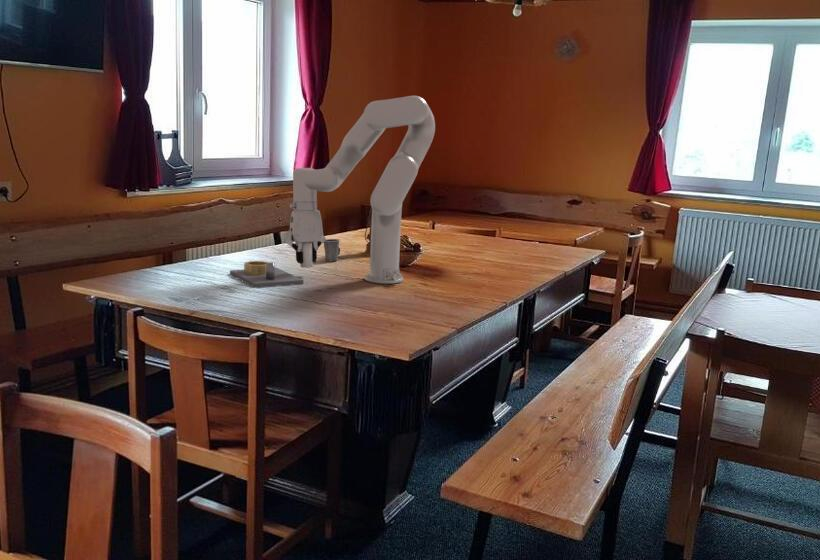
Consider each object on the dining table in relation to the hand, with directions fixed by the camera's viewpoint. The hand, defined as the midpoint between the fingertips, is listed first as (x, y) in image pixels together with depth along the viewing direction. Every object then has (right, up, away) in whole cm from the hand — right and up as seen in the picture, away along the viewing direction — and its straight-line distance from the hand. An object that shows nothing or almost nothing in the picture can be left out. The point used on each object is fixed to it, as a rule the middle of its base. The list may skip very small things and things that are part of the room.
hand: (306, 261), depth 244 cm
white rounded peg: (0, -2, 0) cm, 2 cm away
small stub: (-10, -6, -12) cm, 16 cm away
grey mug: (+5, +1, +33) cm, 33 cm away
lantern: (+22, +4, +51) cm, 56 cm away
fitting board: (-12, -6, -6) cm, 15 cm away
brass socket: (-16, -3, -3) cm, 16 cm away
